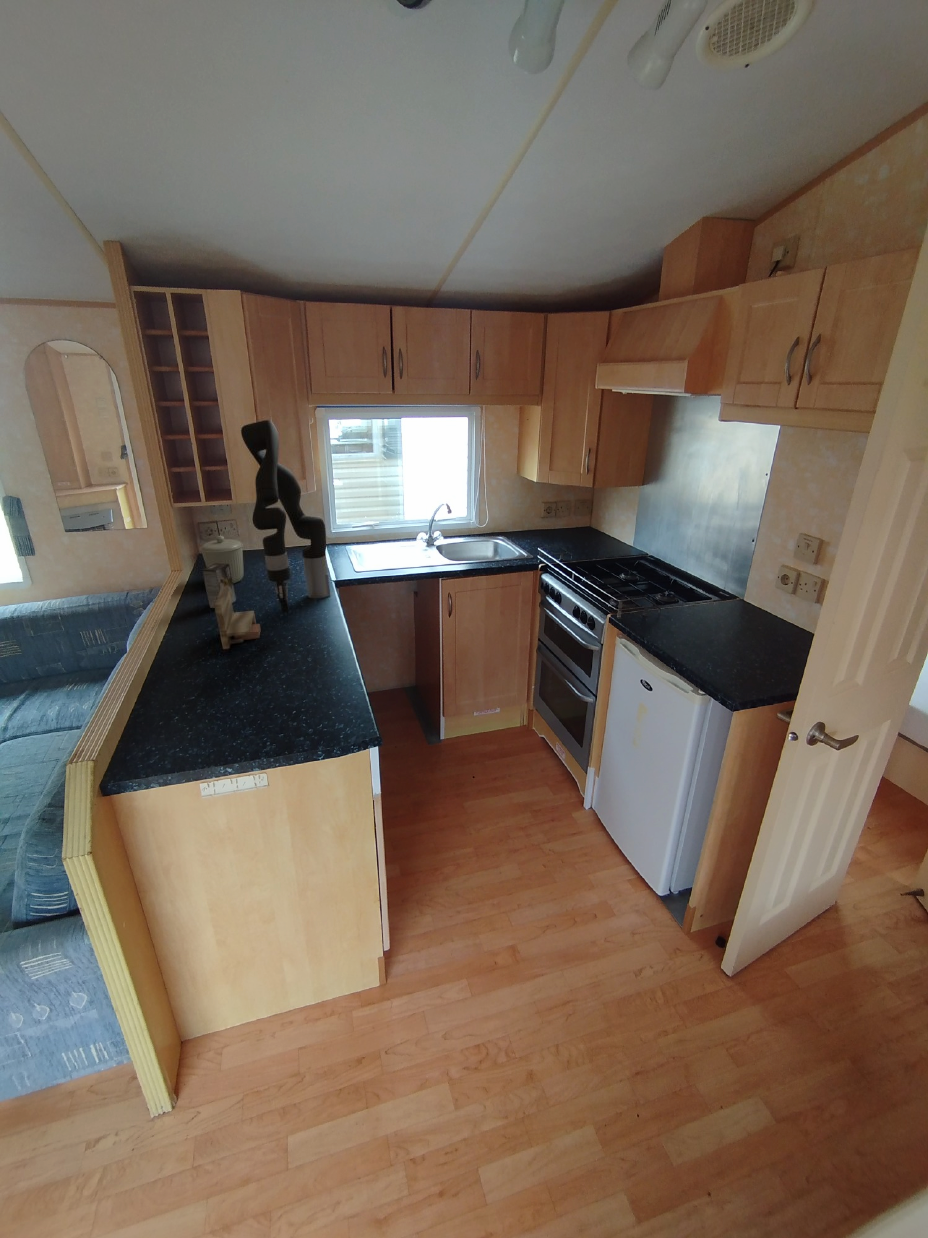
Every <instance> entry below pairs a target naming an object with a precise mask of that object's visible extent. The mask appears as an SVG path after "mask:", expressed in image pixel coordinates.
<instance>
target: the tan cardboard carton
mask: <svg viewBox="0 0 928 1238" xmlns="http://www.w3.org/2000/svg"><path fill="white" fill-rule="evenodd" d="M261 630H262V629H261V625H260V623H256V624H253V625H251V628H250V632H249V634H244V635H234V636H233V639H236V638H243V641H245V640H254V639H259V638H260V635H261Z"/></svg>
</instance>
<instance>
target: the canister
mask: <svg viewBox="0 0 928 1238" xmlns="http://www.w3.org/2000/svg"><path fill="white" fill-rule="evenodd" d="M243 546H244V543H243V542H242V541H239V540H237V539H232V538H230V539H229V538H226V539H225V536H223V535H217V536H216V537H215V540H212V541H208V542H205V543H204V544H202V545H201V546H199V551H200V552H201V554H202V557H203V560H204V563H205V567H206V568H207V567H209V566H211V565H213V564H215V563H222V564H229V566H230V571H231V576H232V581H233V584H236V583H238V582H240V581H242V579H243V578H244V556H243V555H244V554H243Z"/></svg>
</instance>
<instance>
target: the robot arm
mask: <svg viewBox="0 0 928 1238" xmlns="http://www.w3.org/2000/svg"><path fill="white" fill-rule="evenodd" d="M240 433H241V438H242V441H243V443H244V444H245V446H246V448H247V449H248V451H249V453H250V454H251V455H252V457H253V458H254V460H255V461H256V462H257V464H258V465H259V468H258V471H257V473H256V475H255V482H254V483H255V495H256V498H255V505H254V509H253V513H252V518H251V519H252V524H253V526H254V527H255V528H256V529H257V530H259V531H267V530H276V532H275V533H273V534H270V535H266V536H265V537H263V538H262V546H263V551H264V562H265V567H266V573H267V579H268V581H270V582H273V583H275V584H274V590H275V591H276V596H277V599H278V603H279V604H280V607H281V613H282V614H286V613H289V611H290V609H289V604H288V602H289V601H288V596H289V591H288V582H287V581H288V580H290V579H291V577H292V574H291V567H290V562H289V558H288V557H289V556H288V554H287V553H288V552H287V549H286V544H285V541H286V540H285V530H286V524H287V517H288V519H289V522H290V524H291V526H292V529H293V531H294V532H295V535H296V536H297V537H299V539H302V540H310V545H309V546H307V547H304V548H303V549H302V551H301V553H302V554H301V555H302V562H303V569H304V574H305V584H306V590H307V591H306V592H307V597H308V598H310V599H324V598H327V597H331V587H330V579H329V571H328V562H327V555H326V554H327V553H326V552H327V551H326V550H327V536H326V535H327V533H326V532H327V531H326V525H325V524H326V523H325V522H324V520H323V519H322V518H321V517H318V516H310V515H309V516H307V515H306V514H305V513H304V512H303V510H302V507H301V505H300V502H301V498H302V497H301V495H302V490H301V489H302V488H301V486H300V483H299V482H298V480H297V478H296V477H295V475H294V473H293V472H292V471H291V470H290V469H289V468H287V467H286V466H285V465H283V464H281V463H280V462H279V450H280V448H279V447H280V442H279V441H280V437H279V433H278V430H277V427H276V425H275V424H274V423H273V421H271V420H269V419H265V420H261V421H256V422H252V423H247V424H245V425H243V426H242V427H241V429H240ZM278 501H279V502H280V504H281V505H282V507H283V508H281V507H279V506H276V507H275V506H274V507H270V506H273V505H275V504H277V503H278Z"/></svg>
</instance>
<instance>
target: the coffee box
mask: <svg viewBox="0 0 928 1238" xmlns="http://www.w3.org/2000/svg"><path fill="white" fill-rule="evenodd" d="M201 572H202V575H203V576H202V577H203V581H204V585H205V586H204V587H205V590H206V594H207V599H208V604H209V608H212V609H215V607H214V604H215V602H216V600H217V597H218V595H219V593H220V591H221V589H222V586H229V590H230V596H231V601H232V604H233V603H234V602H236V601H237V597H236V592H235V586H234V583H233V581H232V576H231V571H230V566H229V564H222V563H215V564H213V565H211V566H209V567H207V566H206V567H205V568H203V569H202V570H201Z"/></svg>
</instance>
